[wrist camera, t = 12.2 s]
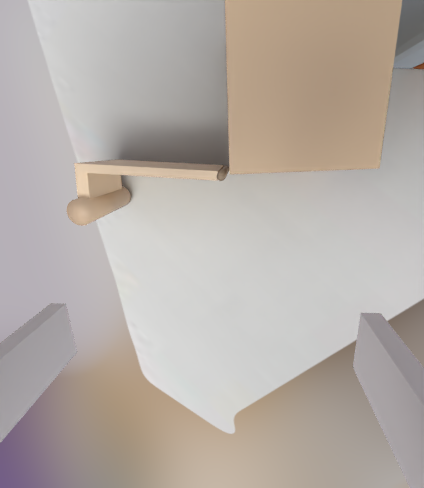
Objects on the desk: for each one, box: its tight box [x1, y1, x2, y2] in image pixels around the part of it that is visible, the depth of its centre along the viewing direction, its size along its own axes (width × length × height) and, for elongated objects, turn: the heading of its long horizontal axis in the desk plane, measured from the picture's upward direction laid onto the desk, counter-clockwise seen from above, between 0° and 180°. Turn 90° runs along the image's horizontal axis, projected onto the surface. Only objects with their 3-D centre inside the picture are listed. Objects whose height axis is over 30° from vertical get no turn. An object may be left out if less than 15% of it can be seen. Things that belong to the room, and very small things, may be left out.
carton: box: [225, 0, 402, 174], centre depth 27 cm, size 12×14×12 cm
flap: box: [67, 160, 229, 226], centre depth 31 cm, size 6×15×10 cm, turn 87°
